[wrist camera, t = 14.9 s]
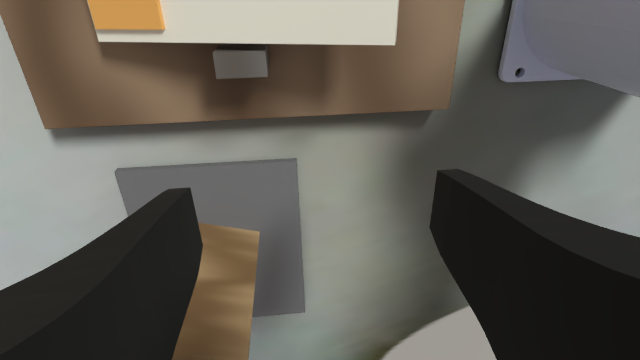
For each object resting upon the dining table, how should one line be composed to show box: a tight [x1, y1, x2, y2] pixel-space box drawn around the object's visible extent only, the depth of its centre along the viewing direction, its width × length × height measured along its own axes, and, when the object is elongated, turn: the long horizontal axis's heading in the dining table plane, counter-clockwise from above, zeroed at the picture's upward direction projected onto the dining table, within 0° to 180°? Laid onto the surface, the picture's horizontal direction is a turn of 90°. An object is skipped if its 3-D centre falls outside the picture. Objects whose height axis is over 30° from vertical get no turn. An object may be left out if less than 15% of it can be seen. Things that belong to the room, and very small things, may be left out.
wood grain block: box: [172, 223, 260, 360], centre depth 19 cm, size 4×4×10 cm
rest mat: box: [115, 158, 305, 317], centre depth 24 cm, size 10×12×1 cm
